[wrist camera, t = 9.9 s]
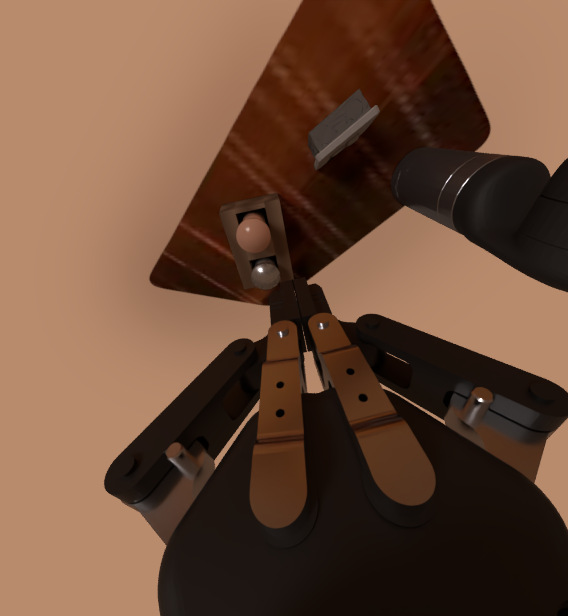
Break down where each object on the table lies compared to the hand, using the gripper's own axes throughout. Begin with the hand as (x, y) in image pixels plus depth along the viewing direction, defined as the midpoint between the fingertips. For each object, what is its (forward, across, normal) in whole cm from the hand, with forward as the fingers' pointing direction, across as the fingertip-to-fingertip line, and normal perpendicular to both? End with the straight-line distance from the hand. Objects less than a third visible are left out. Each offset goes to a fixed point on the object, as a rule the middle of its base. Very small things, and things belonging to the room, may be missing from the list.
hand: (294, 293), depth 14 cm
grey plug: (+35, +4, +13) cm, 37 cm away
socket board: (+35, +4, +9) cm, 36 cm away
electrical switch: (+35, -11, -5) cm, 37 cm away
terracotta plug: (+32, +4, +5) cm, 33 cm away
